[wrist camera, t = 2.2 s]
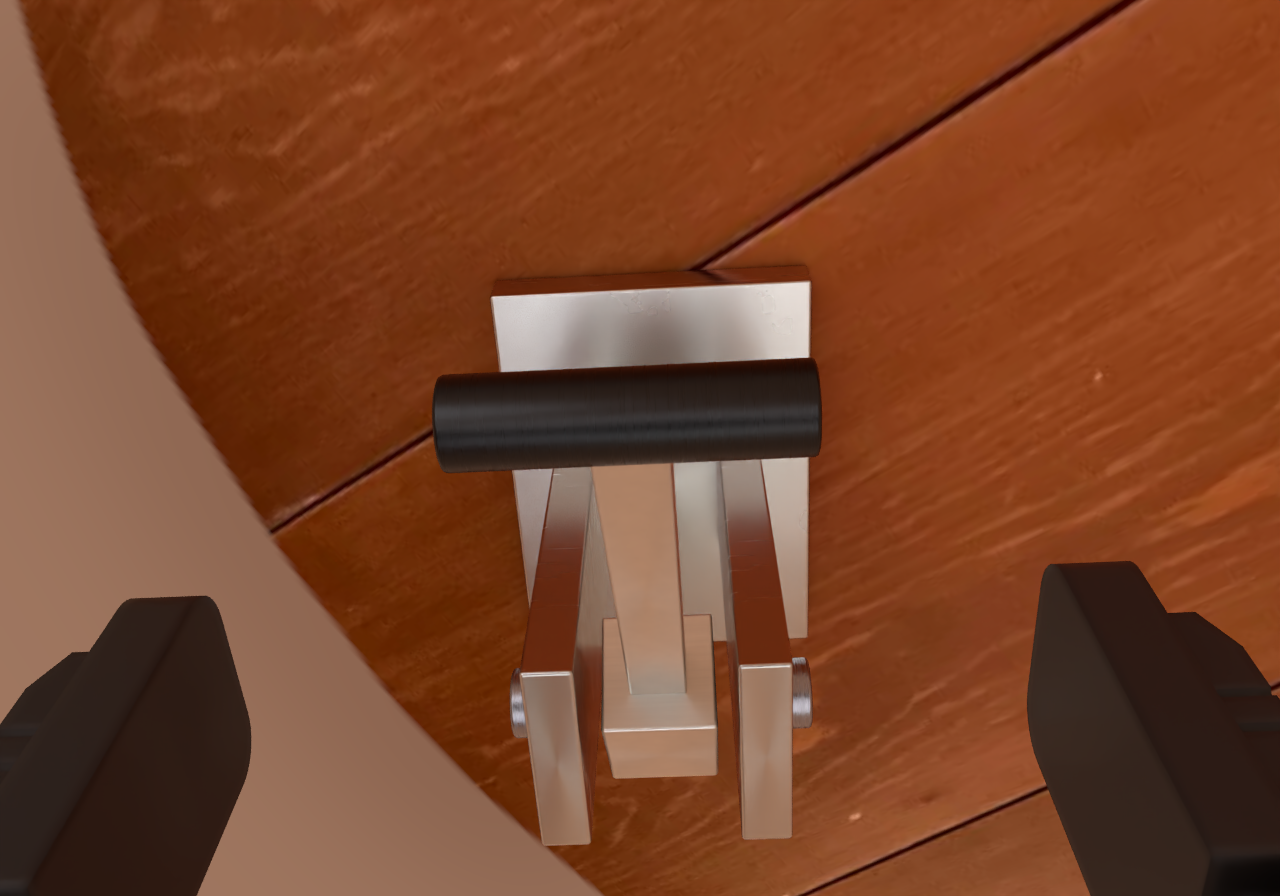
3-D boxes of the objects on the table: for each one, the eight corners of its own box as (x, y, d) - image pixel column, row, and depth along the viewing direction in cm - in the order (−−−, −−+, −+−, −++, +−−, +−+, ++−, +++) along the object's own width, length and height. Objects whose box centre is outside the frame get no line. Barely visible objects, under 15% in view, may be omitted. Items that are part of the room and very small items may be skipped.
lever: (439, 323, 16) (423, 473, 15) (811, 305, 16) (829, 455, 14) (549, 673, 26) (545, 781, 25) (777, 665, 26) (785, 773, 24)
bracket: (494, 279, 30) (409, 524, 20) (807, 263, 30) (884, 504, 20) (537, 624, 36) (486, 960, 25) (804, 614, 35) (863, 950, 25)
